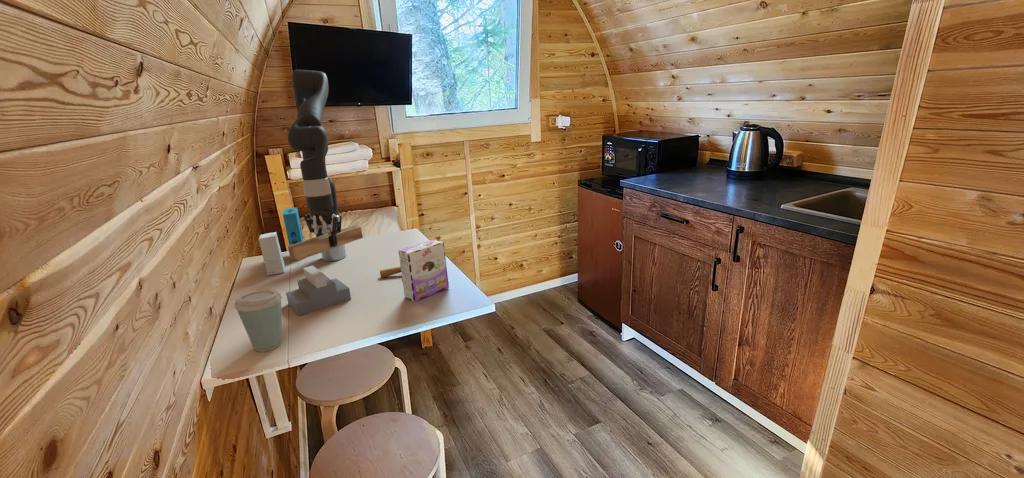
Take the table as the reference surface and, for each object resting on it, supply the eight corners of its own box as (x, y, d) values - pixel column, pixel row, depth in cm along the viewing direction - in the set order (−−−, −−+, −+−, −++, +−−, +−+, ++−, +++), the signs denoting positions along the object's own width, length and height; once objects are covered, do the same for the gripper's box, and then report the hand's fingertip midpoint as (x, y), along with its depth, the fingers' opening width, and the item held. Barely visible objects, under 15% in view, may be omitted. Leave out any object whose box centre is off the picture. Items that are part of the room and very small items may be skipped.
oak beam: (290, 258, 132) (287, 246, 131) (354, 236, 152) (353, 225, 150) (298, 260, 130) (295, 247, 129) (362, 237, 150) (360, 226, 148)
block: (305, 259, 184) (296, 213, 178) (292, 261, 182) (282, 214, 176) (306, 251, 194) (297, 207, 188) (293, 253, 193) (284, 209, 187)
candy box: (439, 284, 151) (434, 238, 146) (449, 288, 147) (444, 241, 142) (404, 297, 142) (397, 249, 137) (414, 302, 138) (407, 252, 133)
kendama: (382, 285, 156) (432, 272, 159) (377, 268, 155) (427, 256, 158) (384, 281, 164) (432, 269, 166) (379, 265, 163) (428, 253, 165)
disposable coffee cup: (261, 336, 122) (248, 286, 117) (299, 335, 121) (288, 284, 117) (237, 357, 112) (222, 303, 107) (278, 356, 111) (265, 302, 107)
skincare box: (284, 273, 170) (276, 236, 165) (266, 276, 167) (258, 238, 163) (285, 266, 177) (277, 230, 172) (268, 269, 175) (259, 233, 170)
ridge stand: (288, 303, 142) (281, 273, 139) (338, 289, 151) (332, 260, 148) (299, 315, 133) (292, 283, 130) (351, 299, 143) (345, 269, 139)
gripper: (344, 191, 136) (353, 244, 141) (310, 190, 142) (320, 240, 147) (326, 196, 130) (336, 251, 135) (291, 194, 135) (302, 247, 140)
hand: (327, 245), depth 141 cm, fingers closed on oak beam, 4 cm apart
